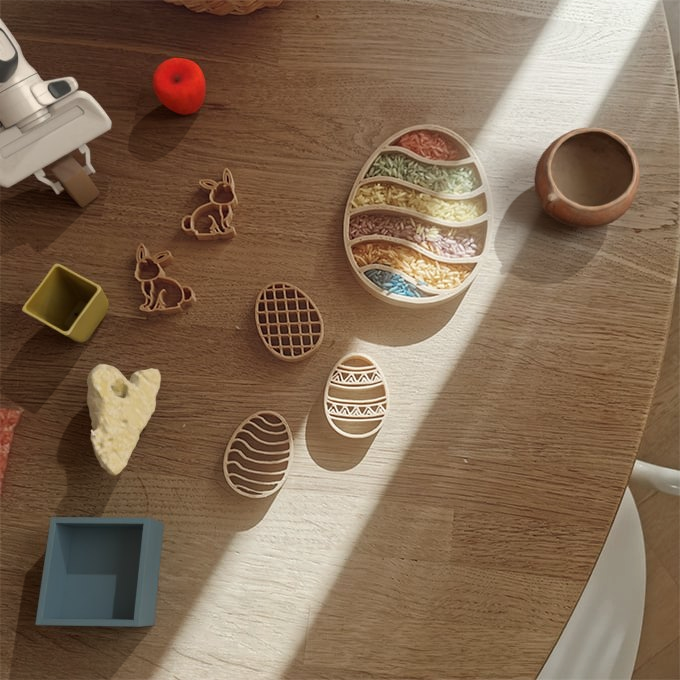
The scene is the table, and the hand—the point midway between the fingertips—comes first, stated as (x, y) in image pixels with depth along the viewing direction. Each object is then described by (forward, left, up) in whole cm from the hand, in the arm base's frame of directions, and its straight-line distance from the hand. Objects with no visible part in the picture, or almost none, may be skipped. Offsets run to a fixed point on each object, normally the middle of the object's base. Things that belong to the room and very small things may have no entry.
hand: (76, 183), depth 120 cm
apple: (+16, +19, -5) cm, 25 cm away
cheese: (+13, -39, -5) cm, 42 cm away
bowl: (+82, -1, -5) cm, 82 cm away
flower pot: (+3, -22, -5) cm, 23 cm away
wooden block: (0, +1, -5) cm, 5 cm away
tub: (+12, -60, -4) cm, 62 cm away
